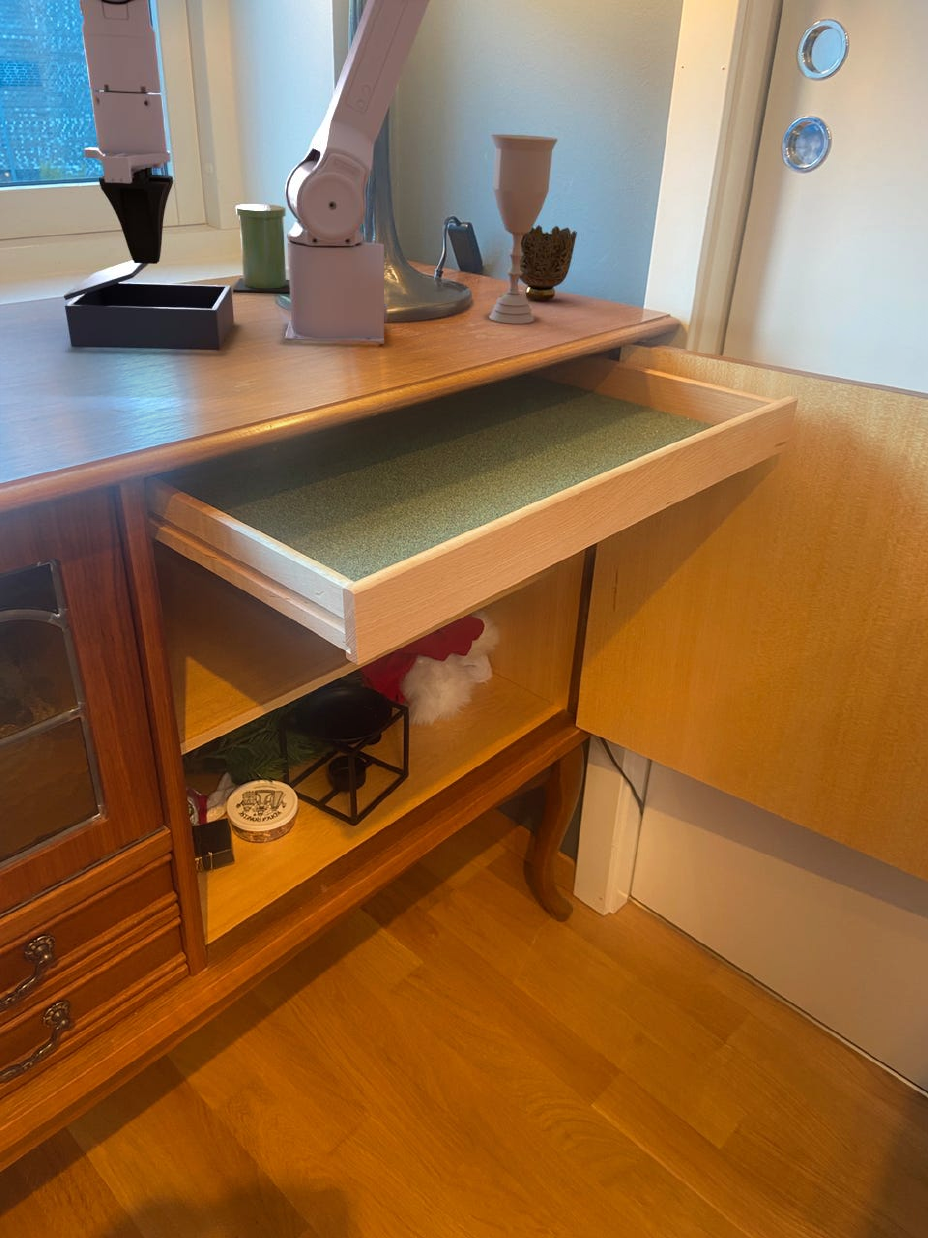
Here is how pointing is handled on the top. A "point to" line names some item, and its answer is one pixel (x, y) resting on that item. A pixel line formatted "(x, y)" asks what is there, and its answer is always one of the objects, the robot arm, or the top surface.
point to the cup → (545, 261)
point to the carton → (151, 316)
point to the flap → (106, 278)
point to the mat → (244, 289)
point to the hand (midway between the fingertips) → (146, 262)
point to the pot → (262, 245)
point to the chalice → (519, 207)
